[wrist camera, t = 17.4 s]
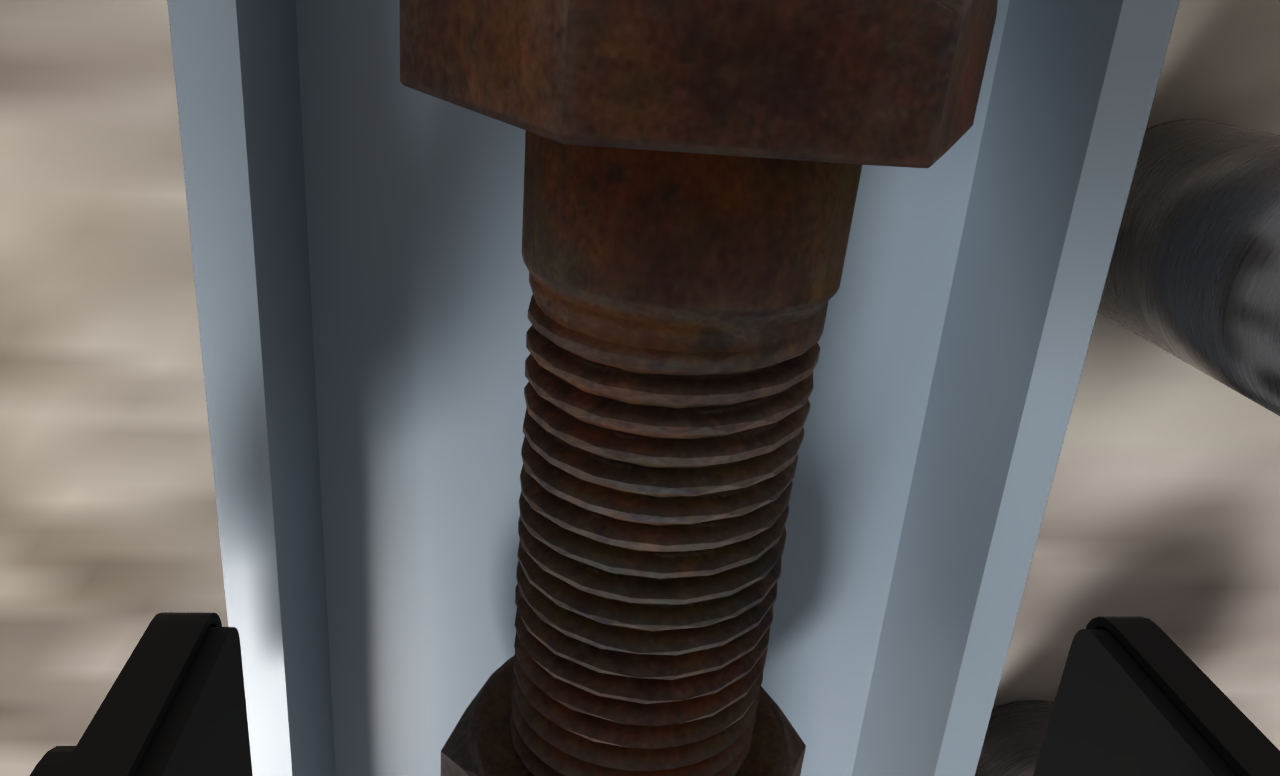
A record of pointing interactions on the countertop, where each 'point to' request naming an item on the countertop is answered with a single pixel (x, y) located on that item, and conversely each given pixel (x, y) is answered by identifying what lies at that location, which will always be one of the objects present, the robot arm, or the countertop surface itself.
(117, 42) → the countertop surface
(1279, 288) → the peg
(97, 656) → the countertop surface
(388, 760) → the tray
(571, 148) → the bolt
